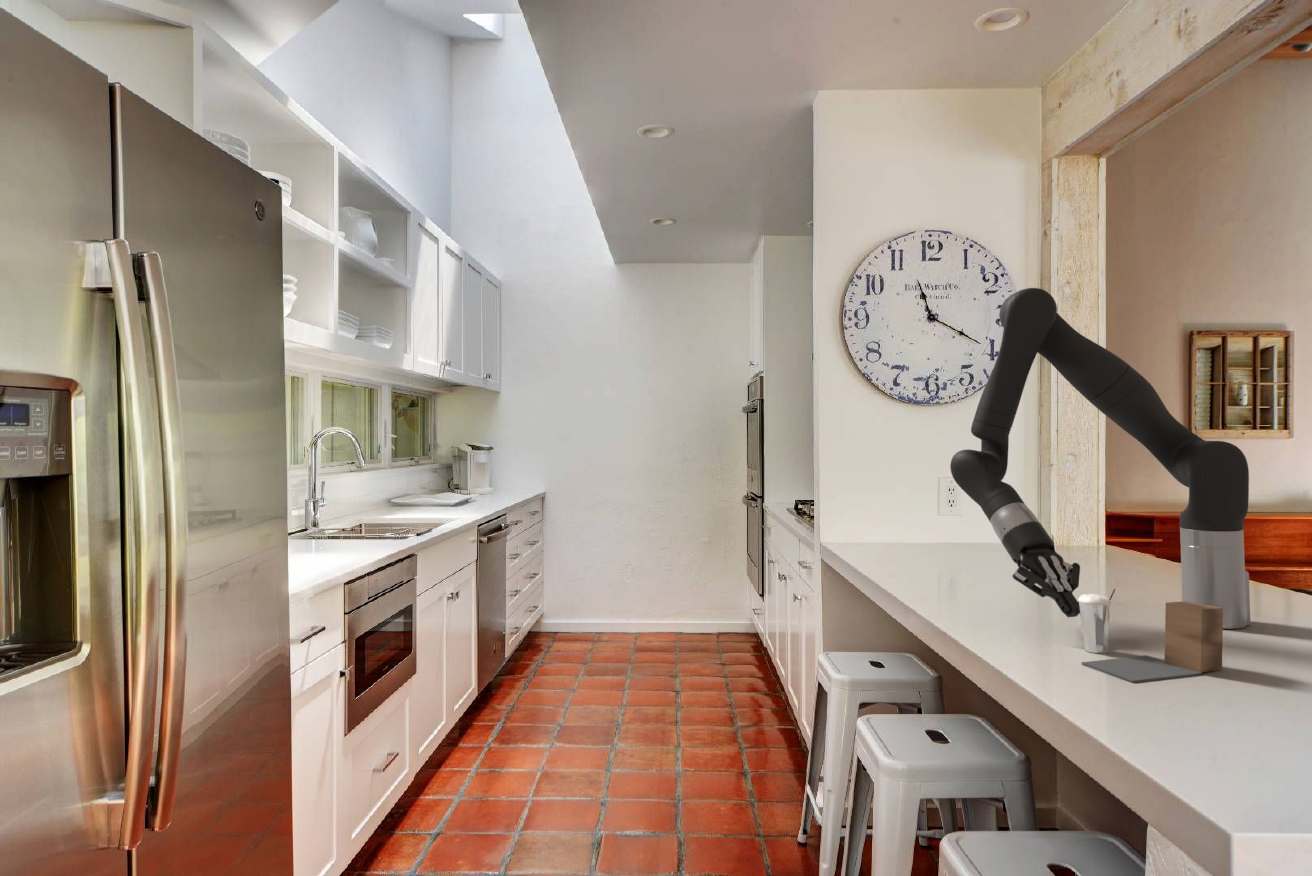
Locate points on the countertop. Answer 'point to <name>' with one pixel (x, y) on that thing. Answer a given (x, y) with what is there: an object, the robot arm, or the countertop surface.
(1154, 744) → the countertop surface
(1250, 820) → the countertop surface
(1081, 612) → the milkshake
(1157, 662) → the mat
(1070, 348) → the robot arm
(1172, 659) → the walnut block
